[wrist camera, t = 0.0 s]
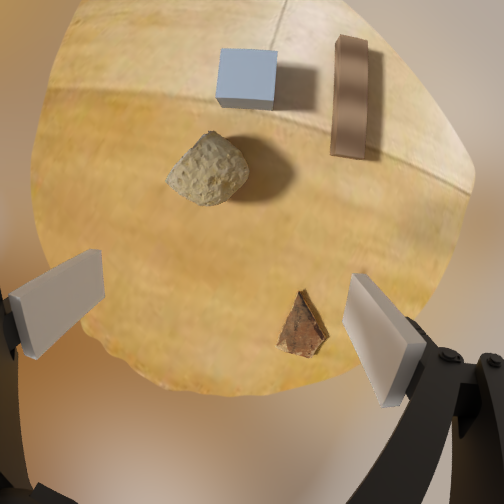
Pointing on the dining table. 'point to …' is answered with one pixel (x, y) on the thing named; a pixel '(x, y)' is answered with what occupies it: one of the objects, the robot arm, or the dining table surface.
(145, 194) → the dining table surface
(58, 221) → the dining table surface
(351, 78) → the brown wavy bar
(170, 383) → the dining table surface
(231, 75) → the block
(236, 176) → the cut rock
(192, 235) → the dining table surface
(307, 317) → the shard
